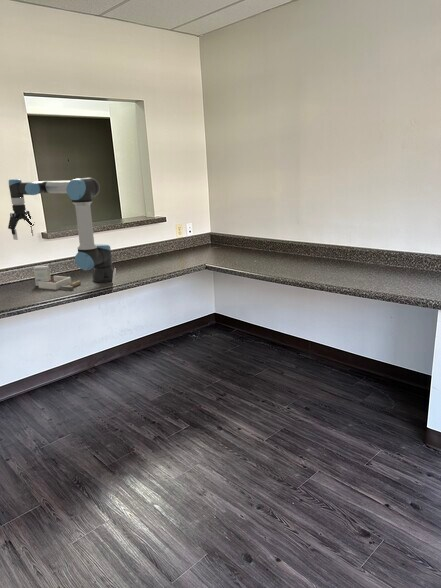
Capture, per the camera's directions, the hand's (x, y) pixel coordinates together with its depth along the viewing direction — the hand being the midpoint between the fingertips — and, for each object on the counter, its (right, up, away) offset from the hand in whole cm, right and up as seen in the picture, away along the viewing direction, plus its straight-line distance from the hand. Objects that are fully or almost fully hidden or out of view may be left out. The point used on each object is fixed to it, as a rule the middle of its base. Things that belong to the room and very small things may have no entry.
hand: (23, 237), depth 286 cm
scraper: (+36, -32, -12) cm, 49 cm away
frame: (+23, -31, -8) cm, 40 cm away
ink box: (+15, -31, -4) cm, 34 cm away
